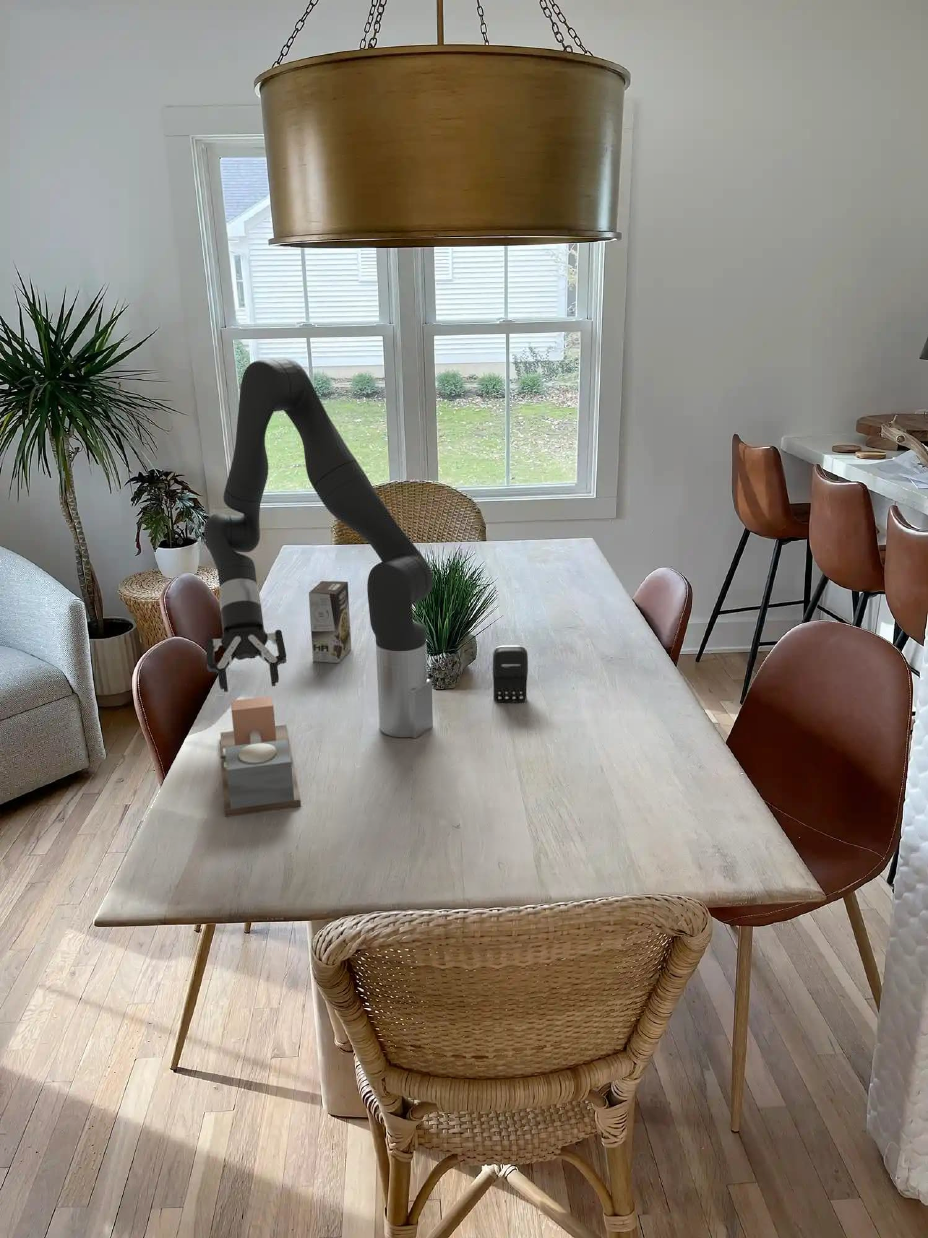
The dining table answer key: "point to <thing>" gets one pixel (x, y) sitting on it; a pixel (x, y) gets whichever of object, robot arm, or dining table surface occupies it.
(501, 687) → the black battery charger
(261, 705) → the block on disc stand
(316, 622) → the coffee box
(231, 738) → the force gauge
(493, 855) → the dining table surface
